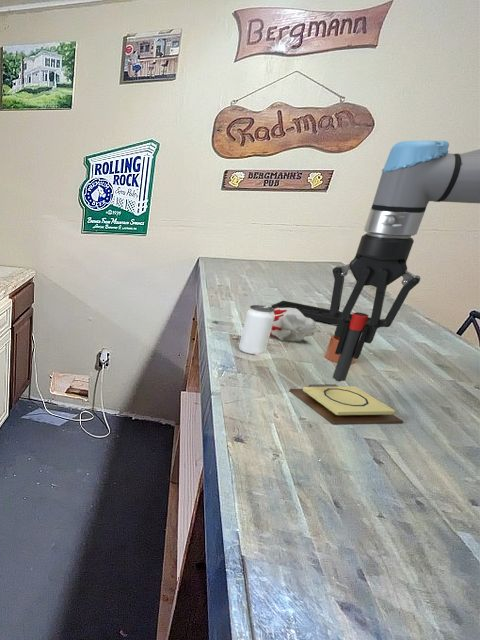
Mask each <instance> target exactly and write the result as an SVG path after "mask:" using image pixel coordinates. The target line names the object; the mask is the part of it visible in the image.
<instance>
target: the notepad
mask: <svg viewBox="0 0 480 640" xmlns="http://www.w3.org/2000/svg"><path fill="white" fill-rule="evenodd" d="M302 389H303V391H304V392H306V393H307V394H309V395H310V396H311V397H313V398H314V399H315V400H317V401H318V402H319V403H321V404H322V405H324V406H325V407H326V408H328V409H329V410H330V411H332V412H333V413H334V414H336V415H388V414H393V415H395V413H396V410H395V409H393V408H391V407H390V406H388V405H387V404H385V403H383V402H381V401H380V400H379V399H377V398H375V397H373V396H372V395H370V394H369V393H367V392H365V391H364V390H362V389H361V388H359V387H357V386H355V385H350V386H347V385H346V386H339V387H308V386H303V387H302Z"/></svg>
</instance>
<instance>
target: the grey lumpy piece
mask: <svg viewBox="0 0 480 640" xmlns="http://www.w3.org/2000/svg"><path fill="white" fill-rule="evenodd" d="M274 314H275V317H274V321H273V325H272V329H271V333H270V337H271V338H277V339H279V340H280V341H281V342H283V341H286V342H287V341H288V342H293V343H298V342H301V341H303V340H304V338H305V337H307V338H308V337H312V336H314V335H315V333H316V329H317V326H316V325H317V324H316V321H315V320H313V319H311V318H307V317H305V316H304V315H303V314H302V313H301V312H300V311H299V310H298V309H296V308H278V307H277V308H274Z"/></svg>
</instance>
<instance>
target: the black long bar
mask: <svg viewBox="0 0 480 640" xmlns="http://www.w3.org/2000/svg"><path fill="white" fill-rule="evenodd" d="M270 307H271V308H273V309H274V308H277V307H278V308H296V309H298V310H299V311H300V312H301V313H302V314H303V315H304V316H305V317H307V318H311V319H312V320H314V321H318V322H322V323H326V324H328V326H337V324H338V320H337V319H336V318H334V317H331V316H330V315H329V312H330V307H329V308H323V307H318V306H313V305H310V304H309V305H308V304H303V303H298V302H293V301H287V300H281V301H278V302H276V303H274V304H271V306H270ZM352 315H353V313H350V315H349V317H348V319H347V320H349V321H351V318H352ZM370 321H371V317H369V316H368V319H367V321H366V324H370ZM326 324H323V327H324V326H326ZM366 324H365V325H366ZM315 326H316V327H320V325H319V324H318V325H317V324H316V325H315Z"/></svg>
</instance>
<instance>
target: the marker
mask: <svg viewBox="0 0 480 640" xmlns="http://www.w3.org/2000/svg"><path fill="white" fill-rule="evenodd" d="M352 314H353V315H352V318H351V321H350V325H349V329H348V332H347V335H346V338H345V341H344V344H343V347H342V350H341V353H340V356H339V359H338V362H337V363H336V365H335V368H334V371H333V374H332V379H333V380H335V382H339V383H340V382H345V381H346V379H347V376H348V374H349V371H350V368H351V365H352V364H351V362H352V360H353V357H354V354H355V351H356V348H357V345H358V342H359V340H360V337H361V334H362V331H363V329H364V327H365V324H366V321H367V319H368V317H369V314H367V313H364V312H353V313H352Z"/></svg>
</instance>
